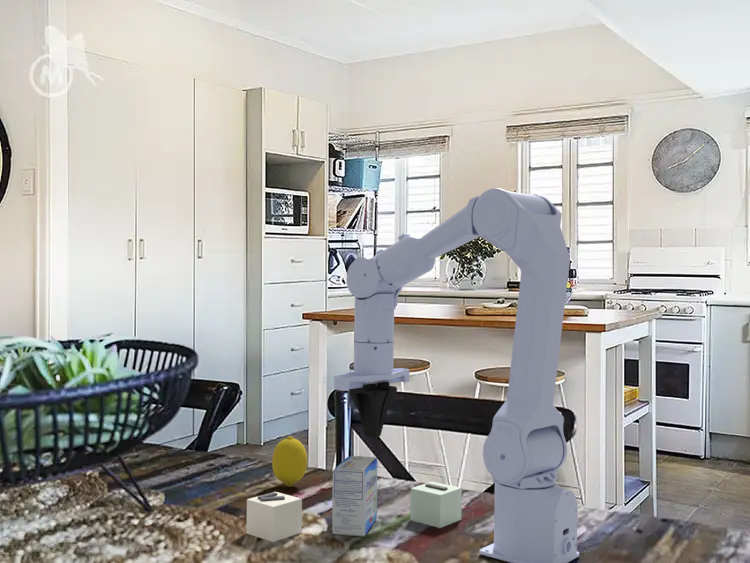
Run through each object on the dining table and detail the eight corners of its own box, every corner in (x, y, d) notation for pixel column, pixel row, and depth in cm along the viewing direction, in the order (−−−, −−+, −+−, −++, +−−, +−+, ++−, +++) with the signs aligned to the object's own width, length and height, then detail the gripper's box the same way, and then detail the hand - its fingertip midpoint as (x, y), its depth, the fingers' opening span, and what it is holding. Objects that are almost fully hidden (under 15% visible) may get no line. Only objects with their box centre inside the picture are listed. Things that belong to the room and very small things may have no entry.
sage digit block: (461, 520, 109) (461, 485, 109) (440, 528, 105) (440, 492, 105) (431, 513, 112) (432, 479, 112) (410, 520, 108) (410, 486, 108)
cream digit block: (301, 533, 102) (301, 496, 102) (272, 542, 98) (273, 504, 98) (274, 525, 105) (275, 489, 105) (246, 534, 102) (246, 497, 102)
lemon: (267, 484, 126) (268, 434, 126) (300, 480, 128) (300, 431, 128) (278, 492, 121) (278, 440, 121) (311, 489, 123) (312, 438, 123)
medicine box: (364, 538, 101) (366, 470, 101) (331, 535, 101) (332, 468, 101) (377, 519, 108) (378, 456, 108) (345, 517, 109) (346, 454, 109)
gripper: (384, 337, 122) (383, 425, 122) (318, 342, 111) (317, 439, 111) (421, 340, 117) (419, 432, 117) (356, 345, 106) (354, 446, 106)
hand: (372, 436), depth 114 cm, fingers closed
